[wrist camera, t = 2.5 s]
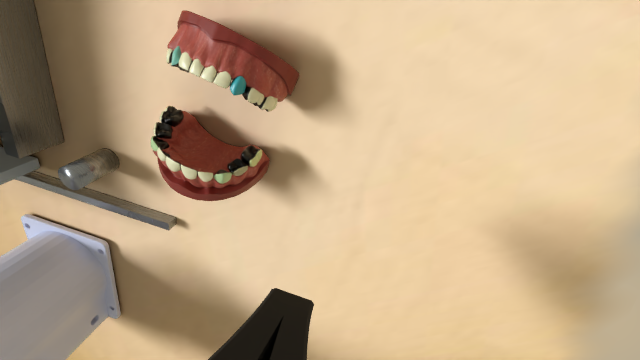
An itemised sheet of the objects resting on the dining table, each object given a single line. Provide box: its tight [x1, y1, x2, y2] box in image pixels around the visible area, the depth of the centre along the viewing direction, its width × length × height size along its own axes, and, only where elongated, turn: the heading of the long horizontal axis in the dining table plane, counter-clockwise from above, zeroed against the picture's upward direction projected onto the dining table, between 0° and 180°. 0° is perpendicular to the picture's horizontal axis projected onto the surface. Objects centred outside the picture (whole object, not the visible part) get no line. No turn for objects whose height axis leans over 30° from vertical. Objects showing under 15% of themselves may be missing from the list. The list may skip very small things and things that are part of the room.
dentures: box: [151, 11, 299, 201], centre depth 16 cm, size 6×5×9 cm
